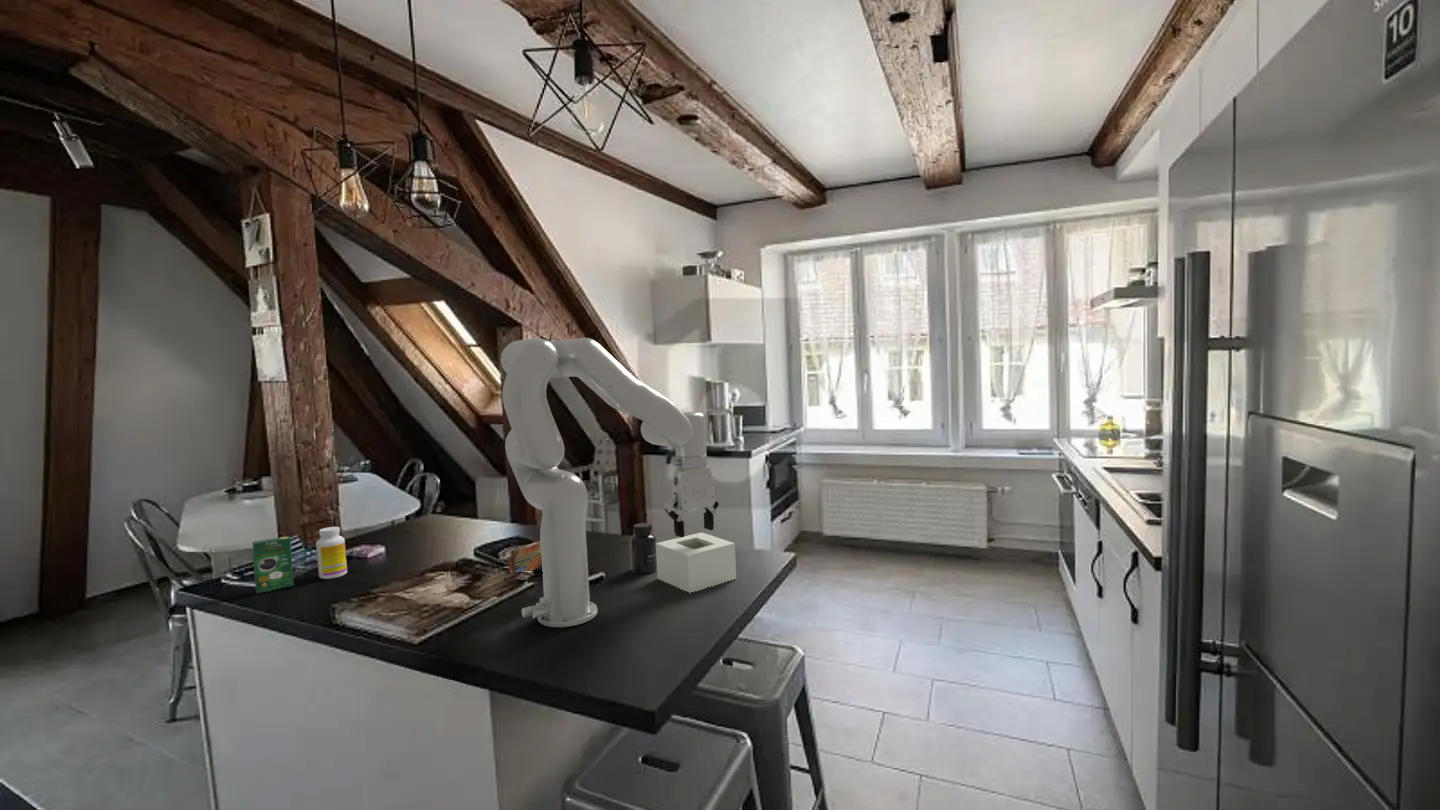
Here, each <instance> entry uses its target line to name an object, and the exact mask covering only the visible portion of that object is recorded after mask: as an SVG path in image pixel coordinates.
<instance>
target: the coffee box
mask: <svg viewBox="0 0 1440 810" xmlns="http://www.w3.org/2000/svg"><path fill="white" fill-rule="evenodd" d="M291 540H292V539H291V536H289V535H288V536H281V537H274V538H270V539H269V538H267V539H261V540H256V541H255V540H254V541H252V549H253V550H252V553H253V554H252V556H253V570H254V573H253V574H254V583H255V585H254V586H255V592H257V593H256V594H257V595H259V594H258V593H260V594H264V593H263V592H266V593H269V592H273V591H272V590H274V591H277V590H276V589H279V590H282V589H281V588H285V589H287V588H286V587H289V588H291V587H290V586H293V587H295V585H294V575H293V573H294V572H293V557H292V556H293V555H292V541H291ZM268 591H269V592H268Z"/></svg>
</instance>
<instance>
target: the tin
mask: <svg viewBox="0 0 1440 810" xmlns="http://www.w3.org/2000/svg"><path fill="white" fill-rule="evenodd" d="M541 565H542V556H541V544H540V540H538V541H535V542H533V543H530V544H527V545H524V546H522V547H518V548H516V549H515V550H514V551H513V552H512V553H511V554H510V556H509V558H508V572H509V574H510V573H517V572H523V571H533V570H535V569H536V568H538V567H539V566H541Z"/></svg>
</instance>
